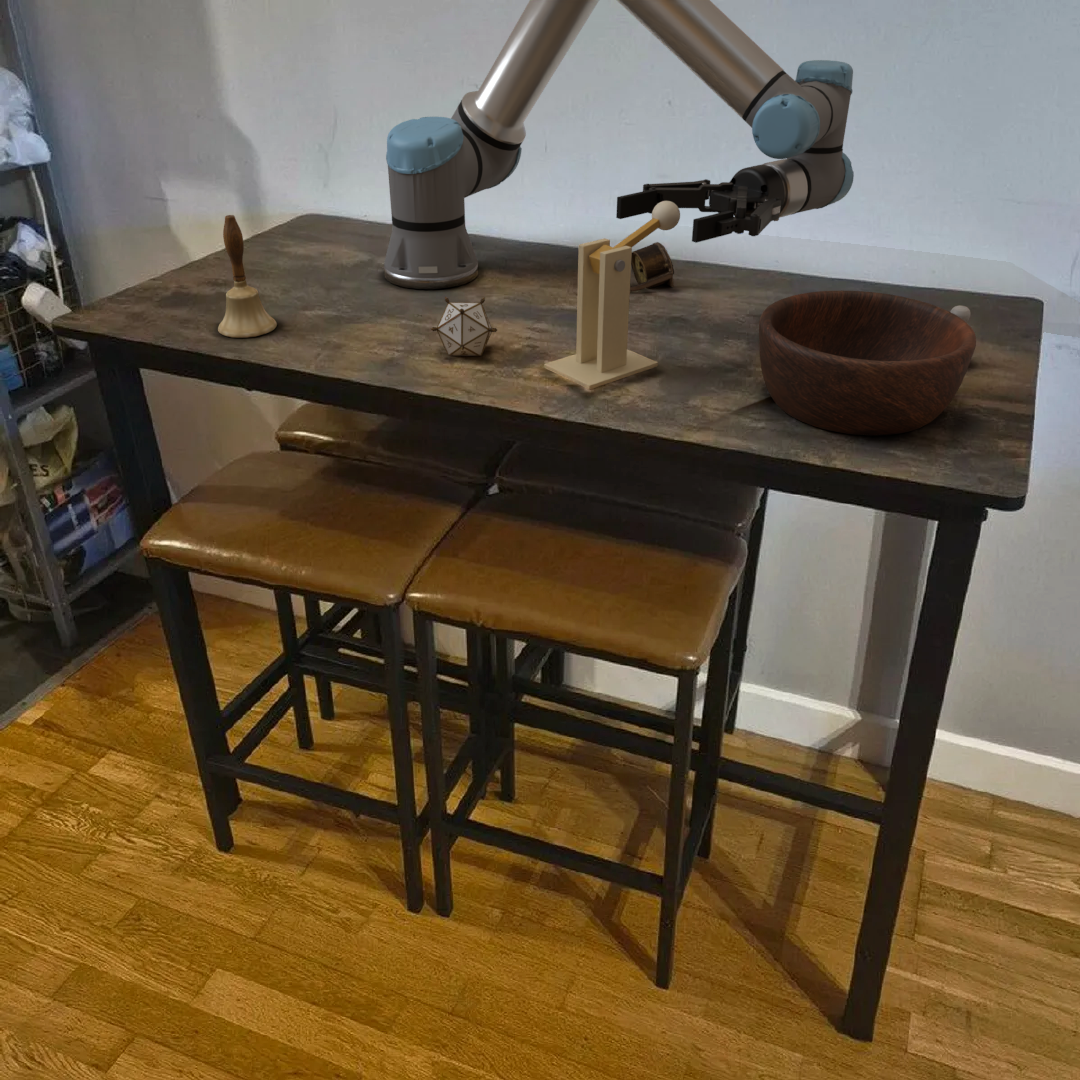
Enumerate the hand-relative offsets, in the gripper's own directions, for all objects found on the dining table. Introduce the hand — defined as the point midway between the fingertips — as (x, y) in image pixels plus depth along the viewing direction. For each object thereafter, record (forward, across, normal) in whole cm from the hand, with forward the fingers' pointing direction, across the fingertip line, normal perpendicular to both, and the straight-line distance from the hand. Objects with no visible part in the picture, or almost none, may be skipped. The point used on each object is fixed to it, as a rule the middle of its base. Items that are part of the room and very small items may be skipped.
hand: (655, 219), depth 134 cm
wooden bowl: (-10, -27, -19) cm, 34 cm away
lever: (+2, 0, -3) cm, 4 cm away
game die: (+19, +16, -19) cm, 31 cm away
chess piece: (-30, -27, -19) cm, 45 cm away
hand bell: (+37, +44, -19) cm, 61 cm away
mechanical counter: (-18, +22, -19) cm, 34 cm away
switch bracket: (+8, 0, -19) cm, 20 cm away
